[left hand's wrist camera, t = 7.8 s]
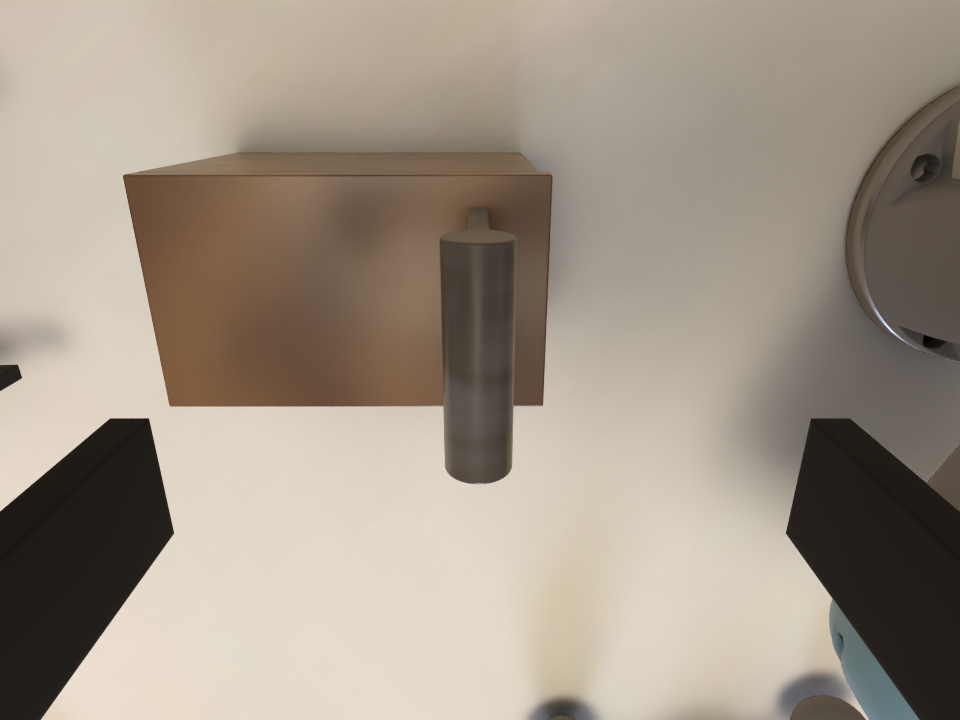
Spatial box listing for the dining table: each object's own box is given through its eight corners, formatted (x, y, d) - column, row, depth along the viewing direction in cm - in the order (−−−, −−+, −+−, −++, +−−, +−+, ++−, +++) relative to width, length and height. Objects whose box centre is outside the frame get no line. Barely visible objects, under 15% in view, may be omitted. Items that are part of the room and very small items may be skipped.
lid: (549, 172, 24) (584, 204, 16) (540, 396, 27) (565, 512, 19) (135, 172, 24) (-33, 204, 16) (179, 397, 27) (59, 513, 19)
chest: (521, 152, 33) (538, 171, 24) (517, 319, 37) (531, 396, 27) (235, 152, 33) (136, 172, 24) (258, 319, 37) (179, 396, 27)
